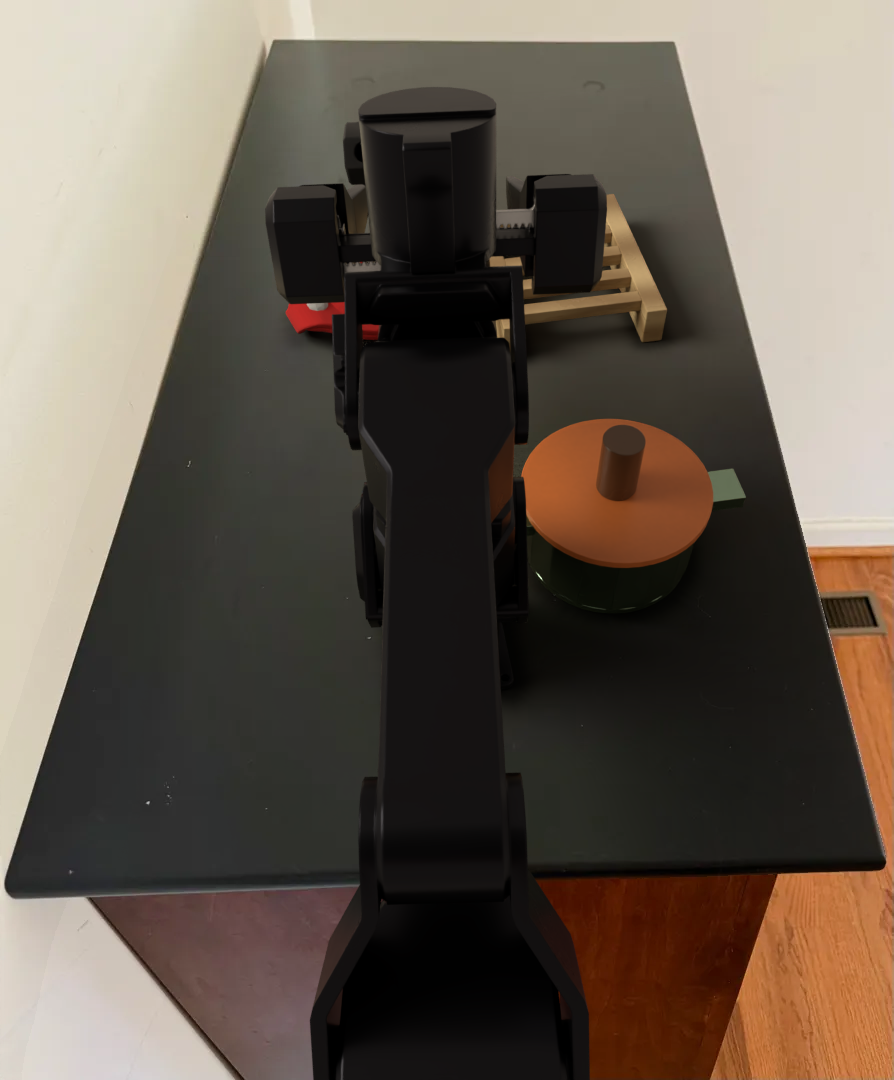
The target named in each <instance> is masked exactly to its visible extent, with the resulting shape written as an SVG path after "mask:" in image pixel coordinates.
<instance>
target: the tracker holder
mask: <svg viewBox="0 0 894 1080" xmlns="http://www.w3.org/2000/svg"><path fill="white" fill-rule="evenodd" d="M360 263H362V262H360ZM332 314H345V302H337V303H312V304H290V303H289V302H288V306H287V309H286V310H285V315H286V317H287V318H288V320H289V322H290V324H291V326H292V327H293V329H294V330H295V332H296V333H297V334H298V335H301V334H303V333H304V332H305V331H308V332H321V333H322V332H323V333H329V334H332ZM362 329H363V340H367V341H368V340H369V341H371V340H372V341H378V330H379V325H372V324H368V325H362Z"/></svg>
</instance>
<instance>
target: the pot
mask: <svg viewBox="0 0 894 1080" xmlns="http://www.w3.org/2000/svg"><path fill="white" fill-rule="evenodd" d="M707 472H708V474H709V477H710V480H711V483H712V488H713V506H712V512H718V511H726V510H732V509H740V508H741V509H742V508H743V507H744V505H745V502H746V498H747V496H746V494H745V492H744V489H743V487H742V485H741V483H740V481H739V478H738V476H737V474H736V471H735V469H734V468H727V469H725V468H724V469H719V470H711V471H710V470H709V471H707ZM526 517H527V515H526ZM694 545H695V542H694V543H693V544H692V545H691V546H689V547H688V548H687V549H686V550H684V551H683V552H681V553H680V554H678V555H676V556H674V557H672V558H670V559H668V560H666V561H663V562H660V563H656V564H653V565H648V566H643V567H633V568H613V567H606V566H599V565H595V564H591V563H587V562H584V561H581V560H579V559H576V558H574V557H572V556H569V555H567V554H565V553H563V552H562V551H560V550H559V549H557V548H555V547H554V546H553V545H551V544H550V543H549V542H548V541H546V540H545V539H544V538H543V537H542V536H541V535H540V534H539V533H538V532H537V531H536V529H535V528H534V527H533V525H532V524H531V522H530V521H529V519H528V517H527V558H528V565H529V567H530V569H531V571H532V572H533V575H534V576H535V578H536V579H537V580H538V582H540V584H542V586H543V587H544V588H545V589H546V590H547V591H548V592H550V593H551V594H552V595H553V596H555V597H556V598H558V600H561V601H563V602H565V603H566V604H569V605H570V606H573V607H576V608H578V609H581V610H584V611H589V612H592V613H597V614H615V615H616V614H628V613H632V612H637V611H640V610H643V609H646V608H649V607H651V606H654V605H655V604H657V603H659V602H660V601H662V600H664V598H666V597H668V595H669V594H671V592H673V590H675V588H676V587H677V586H678V585H679V583H680V581H681V579H682V578H683V576H684V574H685V572H686V571H687V568H688V565H689V562H690V559H691V555H692V552H693V549H694Z"/></svg>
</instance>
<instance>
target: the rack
mask: <svg viewBox="0 0 894 1080" xmlns="http://www.w3.org/2000/svg"><path fill="white" fill-rule="evenodd" d="M606 195H607V217H606V230H605V242H604V255H603V267H610V269H607V270H602V277H601V279H600V282H599V283H598V284H597V285H596V286H595V287H594V288H593V289H592V291H591V292H599V291H609V290H616V289H619V293H609V294H601V295H593V296H584V297H575V298H568V299H567V298H566V299H559V300H551V301H542V302H535V303H526V304H525V303H524V311H525V325H531V324H532V325H534V324H540V323H541V324H542V323H549V322H557V321H566V320H574V319H575V320H576V319H582V318H592V317H598V316H599V317H600V316H608V315H615V314H617V315H618V314H623V313H629V315H630V317H631V320H632V322H633V324H634V327H635V329H636V333H637V334H638V337H639V339H640V342H641V343H647V342H649V343H650V342H655V341H656V342H657V341H661V340H662V338H663V334H664V328H665V323H666V317H667V312H668V308H667V306H666V303H665V302H664V299H663V297H662V295H661V293H660V290H659V289H658V286H657V284H656V282H655V280H654V278H653V276H652V273H651V271H650V269H649V267H648V265H647V263H646V261H645V258H644V256H643V253H642V251H641V250H640V249H641V248H640V247H639V245H638V243H637V241H636V238H635V236H634V234H633V232H632V230H631V228H630V226H629V223H628V222H627V221H628V220H627V219H626V217H625V215H624V212H623V210H622V208H621V206H620V204H619V202H618V200H617V198H616V196H615V194H614V193H608V194H606ZM501 227H503V225H501V226H500V228H501ZM507 227H510V224H508V226H507ZM496 228H497V227H496ZM519 265H522V263H521V259H520V256H515V257H508V258H505V256H497V257H491V258H490V267H492V266H519ZM522 271H523V267H522ZM524 276H525V274H524V271H523V277H524ZM525 277H526V276H525ZM531 285H532V278H529V279H528V278H527V279H523V291H524V300H530V299H532V300H533V299H539V298H548V297H556V296H557V297H558V296H565V295H574V294H576V293H564V294H539V295H533V292H532V287H531ZM591 292H590V293H591ZM496 328H497V338H503V337H504V338H505V339H506V340H507V341H508V342H509V346H510V319H504V320H497V321H496Z"/></svg>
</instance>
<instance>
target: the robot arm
mask: <svg viewBox="0 0 894 1080" xmlns="http://www.w3.org/2000/svg"><path fill="white" fill-rule="evenodd" d="M357 116H358V121H347V122H346V123H345V124H344V128H343V133H342V134H343V136H342V148H343V149H342V150H343V151H342V152H343V163H344V169H345V173H346V176H347V180H348V181H347V182H348V183H349V184H350V185H351V187H349V188H348V189H347V188H346V187H347V186H346V185H345V184H344V182H342V183H341V182H339V183H316V184H315V183H314V184H313V183H312V184H301V185H299V186H298V185H297V186H277V187H276V189H274V191H273V192H272V193H271V195H270V196H269V197H268V200H267V202H266V205H265V209H264V214H265V215H264V216H265V217H264V219H265V220H264V221H265V228H266V229H265V230H266V234H267V239H268V246H269V253H270V257H271V258H270V259H271V263H272V269H273V275H274V280H275V285H276V286H275V287H276V290H277V292H278V294H279V295H280V296H281V297H282V298H283V299H284V300H285V301H286V302H287V303H288V304H289V303H290V304H312V303H337V302H345V314H332V333H331V334H332V363H333V368H332V369H333V394H334V395H333V396H334V397H333V398H334V401H333V402H334V417H335V418H334V419H335V422H336V424H337V426H339V428H341V430H343V433H344V434H346V436H347V438H348V444H349V447H350V450H351V451H361V454H362V459H363V466H364V473H365V478H366V479H365V480H366V481H364V482H363V487H362V493H361V495H360V499H359V502H358V504H357V505H356V506H355V507H354V508H353V509H352V513H351V514H352V515H351V518H352V532H353V547H354V548H353V549H354V564H355V576H356V584H357V589H358V595H359V599H361V601H363V602H364V611H365V612H364V613H365V620H366V621H367V622H368V624H369V626H370V628H372V629H373V628H381V629H382V630H381V631H382V632H381V658H380V659H381V661H380V662H381V664H380V690H379V691H380V694H379V695H380V696H379V723H378V724H379V725H378V758H377V776H364V778H363V780H362V782H361V786H360V787H361V788H360V795H359V806H358V807H359V808H358V831H357V832H358V834H357V835H358V836H357V839H358V840H357V841H358V842H357V843H358V845H357V846H358V871H359V873H358V875H359V885H358V887H357V889H356V891H355V893H354V894H353V895H352V898H351V899H350V902H349V903H348V904H347V907H346V909H345V910H344V912H343V913H342V916H341V918H340V919H339V921H338V923H337V924H336V927H335V928H334V931H333V932H332V933H331V935H330V937H329V939H328V942H327V947H326V951H325V955H324V958H323V963H322V968H321V971H320V976H319V980H318V983H317V988H316V992H315V996H314V1000H313V1003H312V1008H311V1011H310V1012H311V1013H310V1017H309V1032H310V1033H309V1034H310V1046H311V1047H310V1049H311V1050H310V1051H311V1064H312V1066H311V1067H312V1080H591V1071H590V1069H591V1067H590V1065H591V1063H590V1012H589V1007H588V1002H587V998H586V994H585V989H584V984H583V980H582V976H581V971H580V966H579V962H578V958H577V953H576V948H575V943H574V940H573V937H572V934H571V932H570V931H569V929H568V927H567V925H565V923H564V921H563V920H562V918H561V917H560V915H559V914H558V912H557V910H556V909H555V907H554V906H553V904H552V903H551V902H550V900H549V898H548V896H547V895H546V893H545V892H544V890H543V889H542V887H541V886H540V884H539V883H538V881H537V879H535V876H534V874H533V873H532V872H531V871H530V869H529V866H528V865H529V863H528V861H529V860H528V859H529V858H528V835H527V833H528V832H527V816H526V807H525V806H526V803H525V792H524V783H523V776H522V773H521V772H506V756H505V739H504V721H503V703H502V690H507V689H510V688H511V687H512V686H513V684H514V673H513V667H512V664H511V659H510V654H509V653H510V652H509V649H508V645H507V640H506V636H505V635H506V634H505V631H504V625H503V623H508V622H509V623H512V622H513V623H515V622H516V623H517V624H527V623H528V619H529V615H530V607H529V606H530V604H529V600H530V599H529V566H528V565H529V562H528V558H527V517H526V494H525V483H524V478H523V477H521V476H514V463H515V462H514V461H515V460H514V459H515V446H520V445H521V446H522V445H527V444H528V442H529V431H530V399H529V397H530V396H529V377H528V375H529V373H528V356H527V355H528V354H527V335H526V333H527V332H526V324H525V311H524V304H525V299H524V291H523V280H524V276H523V271H524V274H525V277H531V279H532V285H531V287H532V292H533V295H539V294H564V293H575V294H585V293H586V294H587V293H591V291H592V289H593V288H594V287H595V286H596V285H597V284H598V283H599V282H600V279H601V277H602V271H603V267H604V266H603V255H604V242H605V230H606V217H607V195H608V194H607V191H606V189H605V187H604V184H603V182H601V181H600V180H599V178H597V176H596V175H595V174H594V173H587V174H586V173H585V174H571V173H554V174H553V173H551V174H529V175H528V174H527V175H526V176H525V179H524V180H522V179H521V178H518V177H515V176H514V175H507V176H506V177H505V195H506V196H505V197H506V208H507V209H497V103H496V101H495V99H494V98H493V97H491V96H490V95H488V94H486V93H483V92H480V91H476V90H473V89H468V88H461V87H451V86H421V87H412V88H404V89H403V88H402V89H398V90H393V91H392V90H391V91H389V92H385V93H382V94H378V95H376V96H373V97H372V98H369V99H367V100H366V101H364V102H363V103H362V104H361V105H360V106H359V108H358V115H357ZM367 224H368V227H369V232H366V228H367ZM508 224H510V227H507V226H508ZM501 225H503V227H501V228H500V226H501ZM496 227H497V228H496ZM497 256H503V257H520V259H521V263H522V265H519V266H492V267H490V258H491V257H497ZM360 262H362V263H360ZM522 267H523V271H522ZM592 292H593V291H592ZM504 319H510V346H509V342H508V341H507V340H506V339H505V338H504V337H503V338H497V328H496V321H497V320H504ZM368 324H372V325H379V330H378V340H373V341H371V342H369V341H368V342H366V343H365V344H364V339H363V329H362V325H368ZM503 678H505V679H508V680H506V681H503V680H502V679H503Z"/></svg>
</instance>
